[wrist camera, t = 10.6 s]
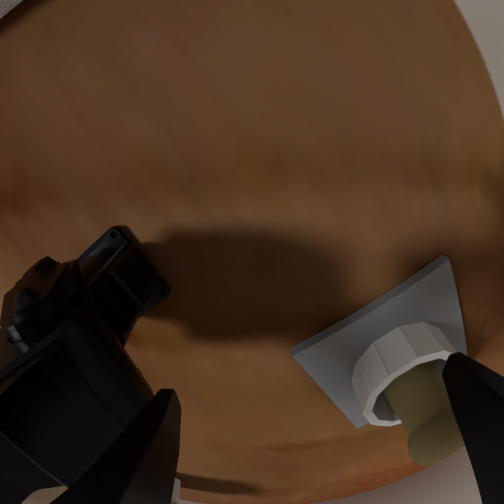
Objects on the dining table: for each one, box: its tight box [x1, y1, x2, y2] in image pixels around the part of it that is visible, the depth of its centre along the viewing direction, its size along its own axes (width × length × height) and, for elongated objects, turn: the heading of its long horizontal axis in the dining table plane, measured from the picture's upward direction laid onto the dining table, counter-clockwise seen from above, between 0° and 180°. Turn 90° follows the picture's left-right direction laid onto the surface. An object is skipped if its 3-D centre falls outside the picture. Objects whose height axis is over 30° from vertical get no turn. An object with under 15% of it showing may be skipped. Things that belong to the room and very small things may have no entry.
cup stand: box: [291, 254, 467, 428], centre depth 23 cm, size 15×16×5 cm
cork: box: [382, 360, 464, 465], centre depth 19 cm, size 6×6×11 cm
